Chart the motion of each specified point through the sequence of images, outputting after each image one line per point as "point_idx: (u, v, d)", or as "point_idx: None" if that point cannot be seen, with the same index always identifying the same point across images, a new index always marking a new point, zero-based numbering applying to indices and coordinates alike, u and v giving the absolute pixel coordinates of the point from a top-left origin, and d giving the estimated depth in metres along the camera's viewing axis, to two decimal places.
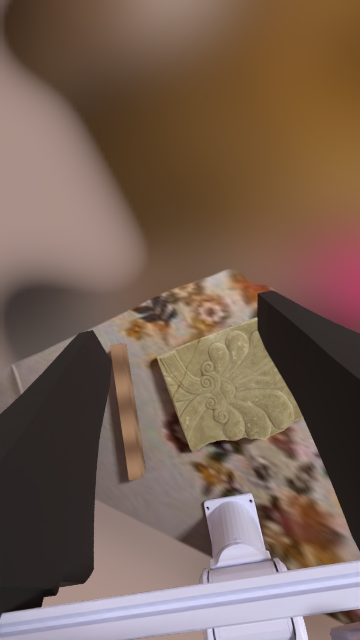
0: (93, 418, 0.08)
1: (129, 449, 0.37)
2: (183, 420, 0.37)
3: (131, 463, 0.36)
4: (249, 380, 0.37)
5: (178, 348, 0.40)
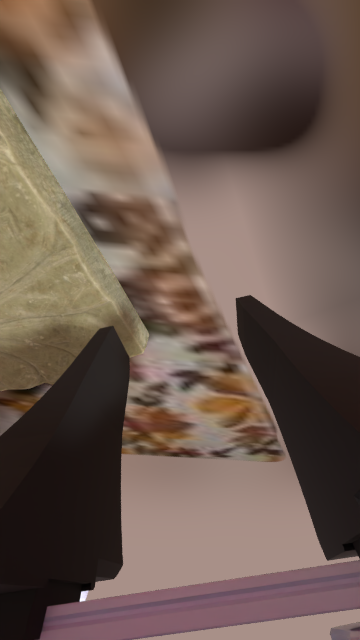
0: (116, 413, 0.08)
1: None
2: None
3: None
4: (9, 303, 0.15)
5: None
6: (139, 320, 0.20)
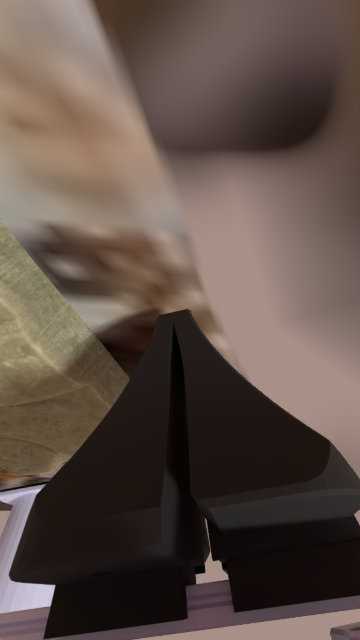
0: (185, 400, 0.08)
1: None
2: None
3: None
4: None
5: None
6: None
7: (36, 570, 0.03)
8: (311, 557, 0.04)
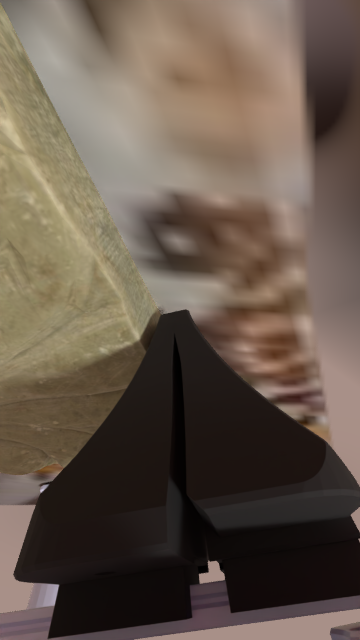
0: None
1: None
2: None
3: None
4: (7, 384, 0.09)
5: None
6: None
7: (42, 569, 0.03)
8: (308, 558, 0.04)
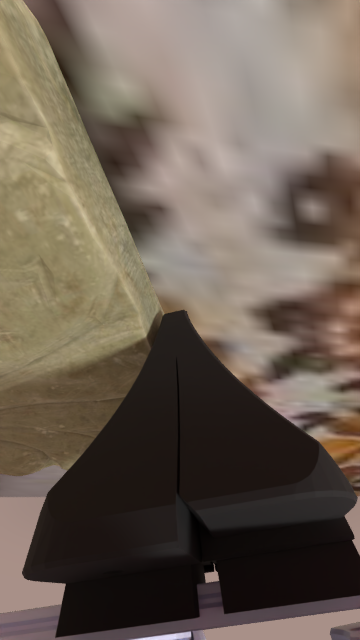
0: None
1: None
2: None
3: None
4: (18, 389, 0.09)
5: None
6: None
7: (51, 567, 0.03)
8: (301, 559, 0.04)
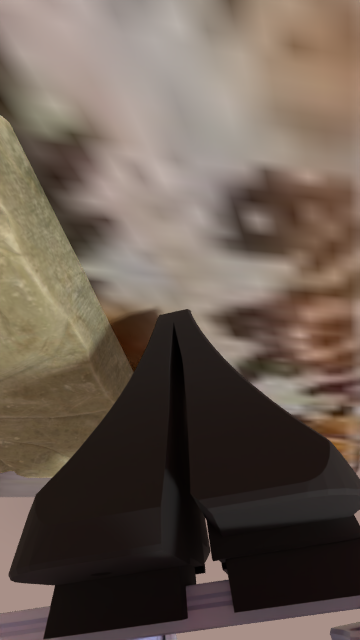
0: (185, 400, 0.08)
1: None
2: None
3: None
4: None
5: None
6: None
7: (36, 570, 0.03)
8: (311, 557, 0.04)
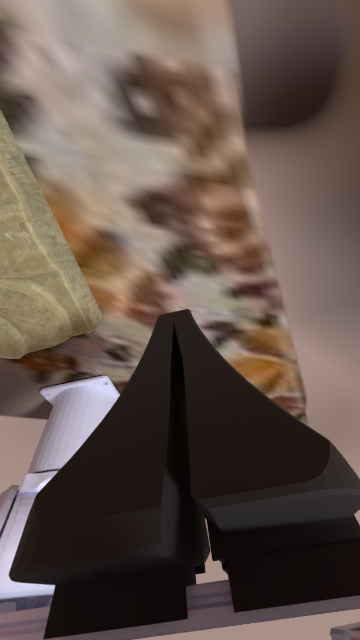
0: (185, 400, 0.08)
1: None
2: None
3: None
4: None
5: None
6: (92, 299, 0.19)
7: (36, 570, 0.03)
8: (311, 557, 0.04)
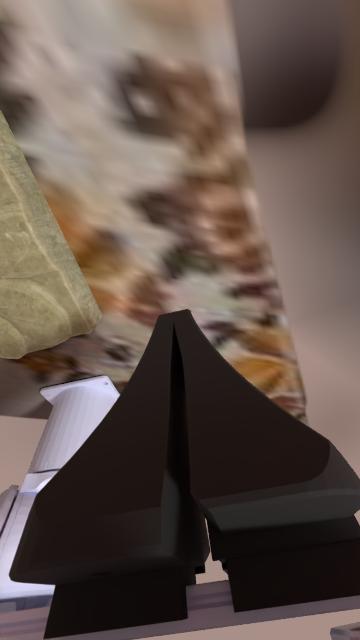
0: (185, 400, 0.08)
1: None
2: None
3: None
4: None
5: None
6: (92, 299, 0.19)
7: (36, 570, 0.03)
8: (311, 557, 0.04)
